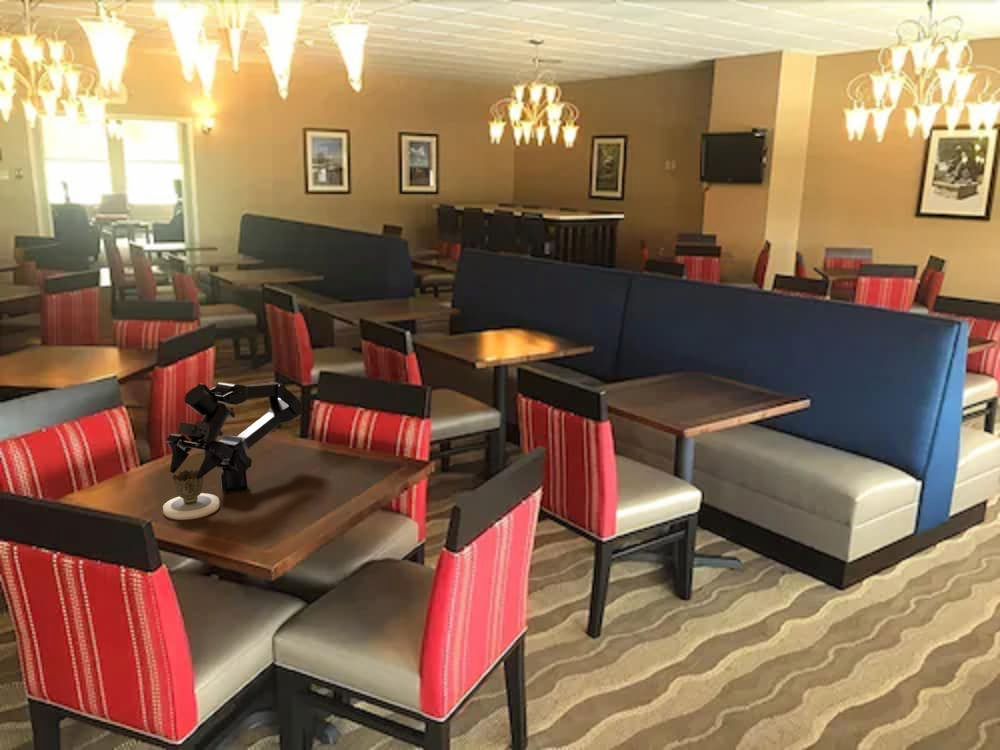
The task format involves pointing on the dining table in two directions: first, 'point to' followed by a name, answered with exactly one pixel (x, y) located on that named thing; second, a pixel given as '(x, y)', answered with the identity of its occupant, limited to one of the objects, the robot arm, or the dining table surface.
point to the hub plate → (191, 507)
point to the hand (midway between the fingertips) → (184, 475)
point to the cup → (188, 486)
